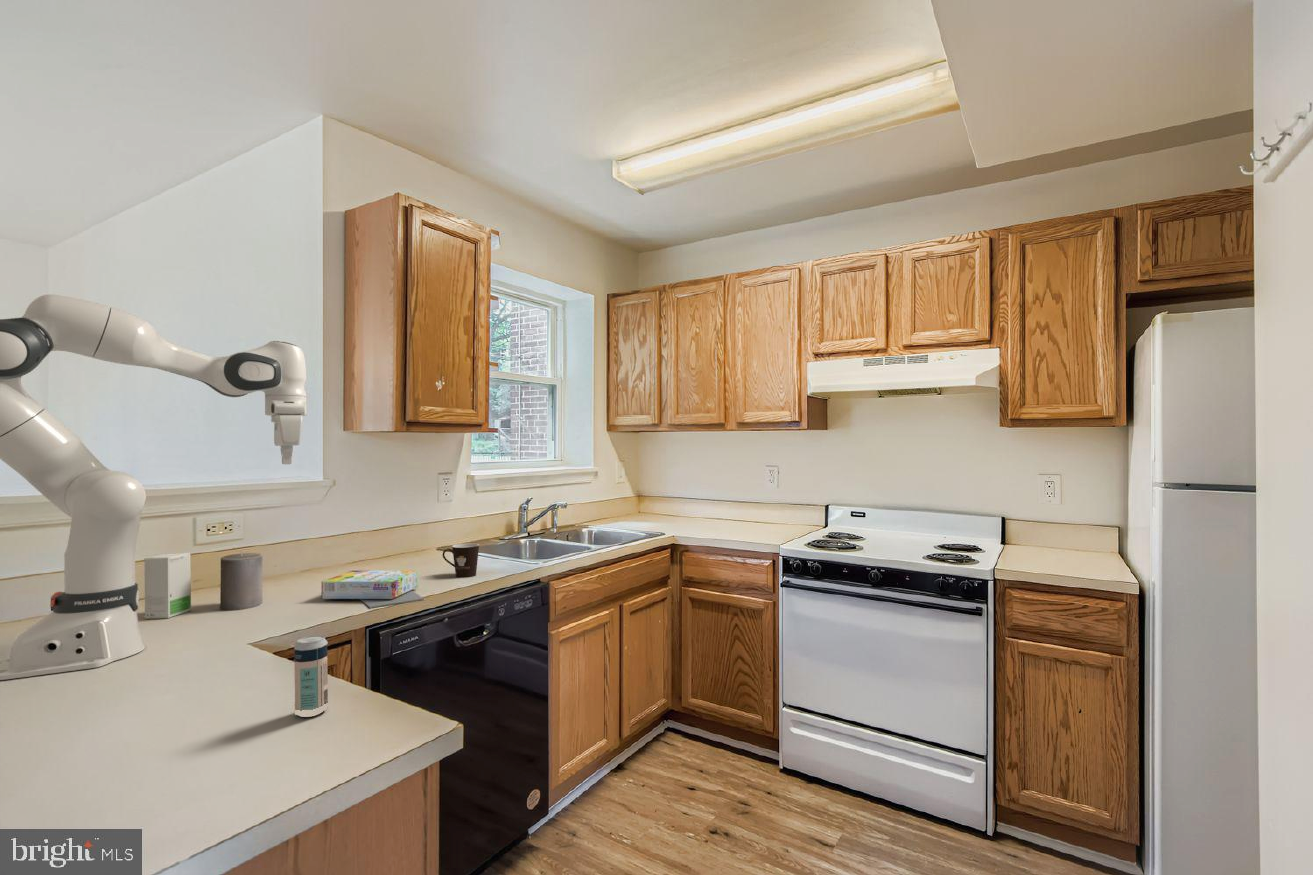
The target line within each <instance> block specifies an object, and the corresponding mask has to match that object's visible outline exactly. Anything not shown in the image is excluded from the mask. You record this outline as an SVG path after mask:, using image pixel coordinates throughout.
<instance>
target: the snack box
mask: <svg viewBox="0 0 1313 875" xmlns="http://www.w3.org/2000/svg"><path fill="white" fill-rule="evenodd" d="M418 587H419V571H418V570H349V571H348V572H345V573H342V574H338V575H336V576H334V577H331V578H327V579H323V580H322V581H321V597H320V598H321V600H360V599H393V598H395V597H398V596H400V595H402V594H404V593H406V592H408V591H410V590H412V591H413V590H415V589H417V588H418Z"/></svg>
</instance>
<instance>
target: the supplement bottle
mask: <svg viewBox="0 0 1313 875" xmlns="http://www.w3.org/2000/svg"><path fill="white" fill-rule="evenodd" d="M328 643H329V642H328V640H326V638H325V636H324V635H320V634H317V635H316V634H315V635H307V636H305V637H301V638H299V639H297V640H296V642H295V644H294V647H293V649H294V711H295V710H300V711H302V710H313V709H316V708H319V707H321V706H323V705H324V704H326V703H328V702H329V698H328V697H329V696H328V695H329V688H328V687H329V685H328V682H329V681H328V678H329V677H328V673H329V672H328V671H329V670H328ZM328 704H329V703H328Z"/></svg>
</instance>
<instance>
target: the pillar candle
mask: <svg viewBox="0 0 1313 875" xmlns="http://www.w3.org/2000/svg"><path fill="white" fill-rule="evenodd" d="M219 591H220V593H219V594H220V600H219V601H220V605H219V608H220V609H221V610H223V611H237V610H238V611H240V610H247V609H252V608H256V607H258V606H260V605H261V604H262V603H263V553H258V552H245V553H244V552H243V550H242V551H240V553H236V554H233V553H232V554H227V555H224V556H222V557H220V590H219ZM255 606H256V607H255Z"/></svg>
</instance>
